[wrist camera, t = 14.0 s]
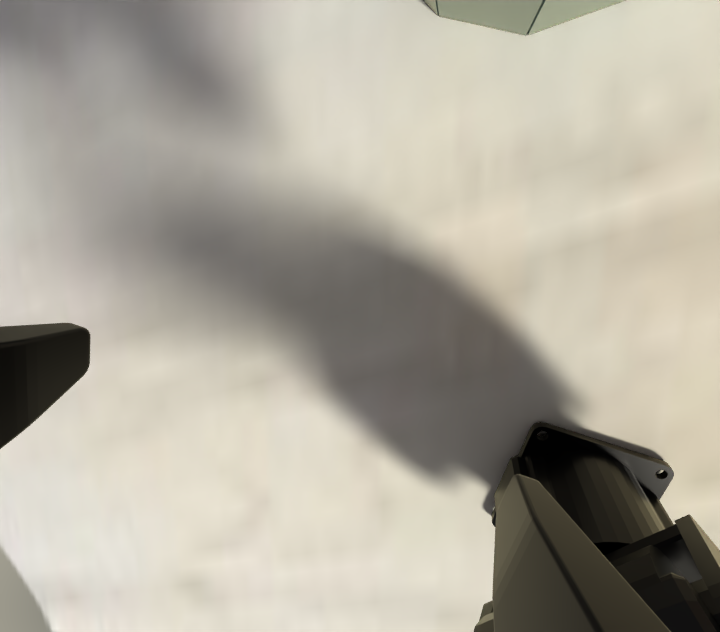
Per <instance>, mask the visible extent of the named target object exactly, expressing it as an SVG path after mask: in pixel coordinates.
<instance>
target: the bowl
mask: <svg viewBox="0 0 720 632" xmlns="http://www.w3.org/2000/svg"><path fill="white" fill-rule="evenodd" d="M424 1H425V2H426V3H427V5H428V6H429V7H430V8H431V9H432V10H433V11H434V12H435V13H436V14H437V15H438V14H439V17H444V18H448V19H453V20H457V21H462V22H467V23H471V24H476V25H480V26H485V27H489V28H494V29H498V30H503V31H507V32H512V33H516V34H521V35H525V36H526V34H527V32H528V35H530V34H533V33H536V32H539V31H542V30H544V29H547V28H550V27H553V26H556V25H558V24H561V23H564V22H567V21H570V20H572V19H575V18H578V17H581V16H584V15H586V14H589V13H592V12H595V11H598V10H600V9H603V8H606V7H609V6H612V5H614V4H617V3H620V2H623V1H625V0H424Z"/></svg>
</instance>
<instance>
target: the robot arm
mask: <svg viewBox="0 0 720 632" xmlns="http://www.w3.org/2000/svg"><path fill="white" fill-rule="evenodd" d="M89 364H90V333H89V331H88V330H87V329H86V328H84V327H81V326H78V325H75V324H72V323H55V324H38V325H21V326H4V327H0V449H1V448H2V447H3V446H5V445H6V444H7V443H9V442H10V441H11V440H12V439H14V438H15V437H16V436H18V435H19V434H20V433H21V432H22V431H24V430H25V429H26V428H27V427H29V426H30V425H31V424H32V423H33V422H34V421H35V420H36V419H38V418H39V417H40V416H41V415H42V414H43V413H44V412H45V411H46V410H47V409H48V408H49V407H50V406H51V405H53V404H54V403H55V402H56V401H57V400H58V399H59V398H60V397H61V396H62V395H63V394H64V393H65V392H66V391H68V390H69V389H70V388H71V387H72V386H73V385H74V384H75V383H76V382H77V381H78V380H79V379H80V378H81V377H83V375H84V374H85V373H86V372H87V370H88V368H89ZM540 431H545V432H547V433H546V434H545V435H543V436H539V435H537V434H538V432H540ZM659 470H664V471H663V472H662V473H660V474H656V472H657V471H659ZM673 476H674V473H673V470H672V469H671V467H670V466H669V465H668V463H666V462H665V461H662V460H659V459H656V458H653V457H650V456H647V455H644V454H641V453H638V452H634V451H631V450H628V449H625V448H622V447H619V446H616V445H613V444H610V443H607V442H603V441H600V440H597V439H594V438H591V437H588V436H585V435H582V434H579V433H575V432H572V431H569V430H566V429H563V428H560V427H557V426H554V425H551V424H548V423H544V422H539V423H535V424H534V425H533V426H532V427H531V429H530V431H529V433H528V435H527V437H526V440H525V442H524V444H523V446H522V448H521V451H520V453H519V455H518V456H514V457H513V458H511V459H510V461H509V463H508V466H507V468H506V470H505V472H504V475H503V477H502V479H501V481H500V484H499V486H498V488H497V490H496V493H495V495H494V498H495V508H494V510H493V512H492V523H493V525H494V526H495V527H496V528H495V550H494V572H493V601H490V602H488V603H486V604H484V606H483V609H482V613H481V616H480V620H479V622H478V624H477V625H476V626H475V629H474V632H720V550H719V549H718V548H717V547H716V545H715V544H714V543H713V542H712V541H711V539H710V538H709V537H708V536H707V535H706V533H705V532H704V531H703V530H702V529H701V527H700V526H699V525H698V524H697V523H696V521H695V520H694V519H693V518H692V517H691V515H690V514H689V515H687V516H685V517H682V518H680V519H678V520H675V523H676V524H675V525H674V524H673V523H672V521H671V519H670V518H669V516H668V514H667V513H666V511H665V509H664V508H663V506H662V504H661V503H660V501H659V500H660V498H661V496H662V495H663V493H664V492H665V490H666V488H667V487H668V485H669V484H670V482H671V480H672V479H673Z"/></svg>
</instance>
